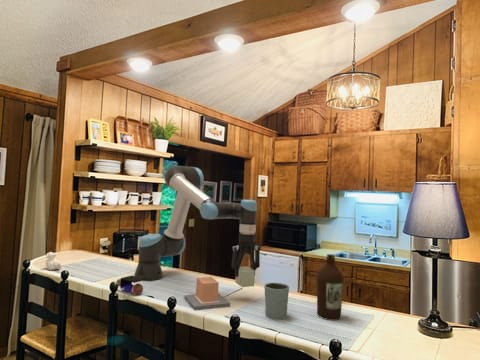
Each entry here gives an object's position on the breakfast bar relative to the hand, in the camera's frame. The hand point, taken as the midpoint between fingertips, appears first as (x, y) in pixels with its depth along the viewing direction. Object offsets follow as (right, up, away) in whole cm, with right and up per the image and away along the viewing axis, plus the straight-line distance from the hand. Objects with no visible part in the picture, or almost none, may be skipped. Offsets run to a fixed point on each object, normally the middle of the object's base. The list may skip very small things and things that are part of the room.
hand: (244, 283), depth 158 cm
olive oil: (+34, -8, -17) cm, 39 cm away
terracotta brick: (-17, -5, -6) cm, 19 cm away
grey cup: (+12, -7, -19) cm, 24 cm away
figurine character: (-54, -6, +4) cm, 54 cm away
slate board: (-17, -6, -7) cm, 19 cm away
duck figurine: (-111, -4, +40) cm, 118 cm away
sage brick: (0, 0, 0) cm, 1 cm away
